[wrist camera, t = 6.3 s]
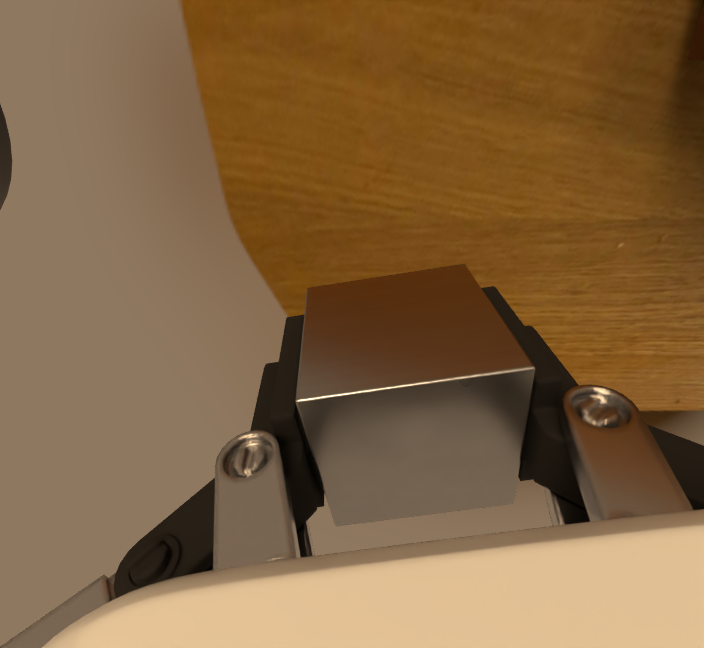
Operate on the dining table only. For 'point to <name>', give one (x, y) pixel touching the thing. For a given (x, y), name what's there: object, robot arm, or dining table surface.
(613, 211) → the dining table surface
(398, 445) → the block
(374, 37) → the dining table surface
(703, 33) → the drawer
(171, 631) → the robot arm
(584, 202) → the dining table surface
